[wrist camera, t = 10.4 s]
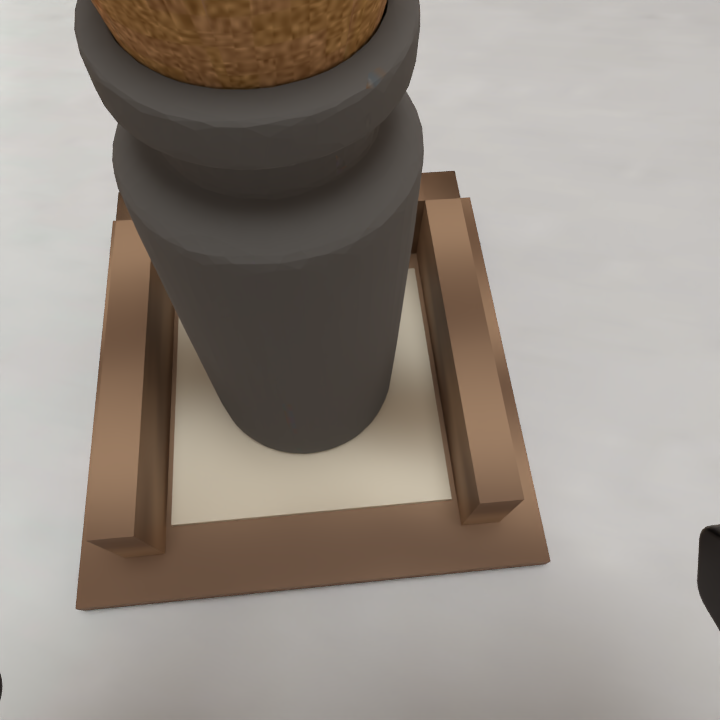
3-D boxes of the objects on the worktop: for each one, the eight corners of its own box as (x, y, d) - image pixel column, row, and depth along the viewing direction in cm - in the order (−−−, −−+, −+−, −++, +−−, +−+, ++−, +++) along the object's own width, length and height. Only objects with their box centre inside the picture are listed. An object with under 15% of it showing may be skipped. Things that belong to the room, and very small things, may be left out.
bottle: (184, 409, 20) (-144, -93, 7) (272, 276, 23) (159, -294, 9) (343, 487, 19) (334, 77, 6) (418, 337, 22) (535, -201, 8)
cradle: (544, 564, 19) (584, 545, 16) (83, 610, 18) (26, 600, 15) (467, 207, 25) (484, 140, 22) (118, 230, 24) (82, 165, 21)
